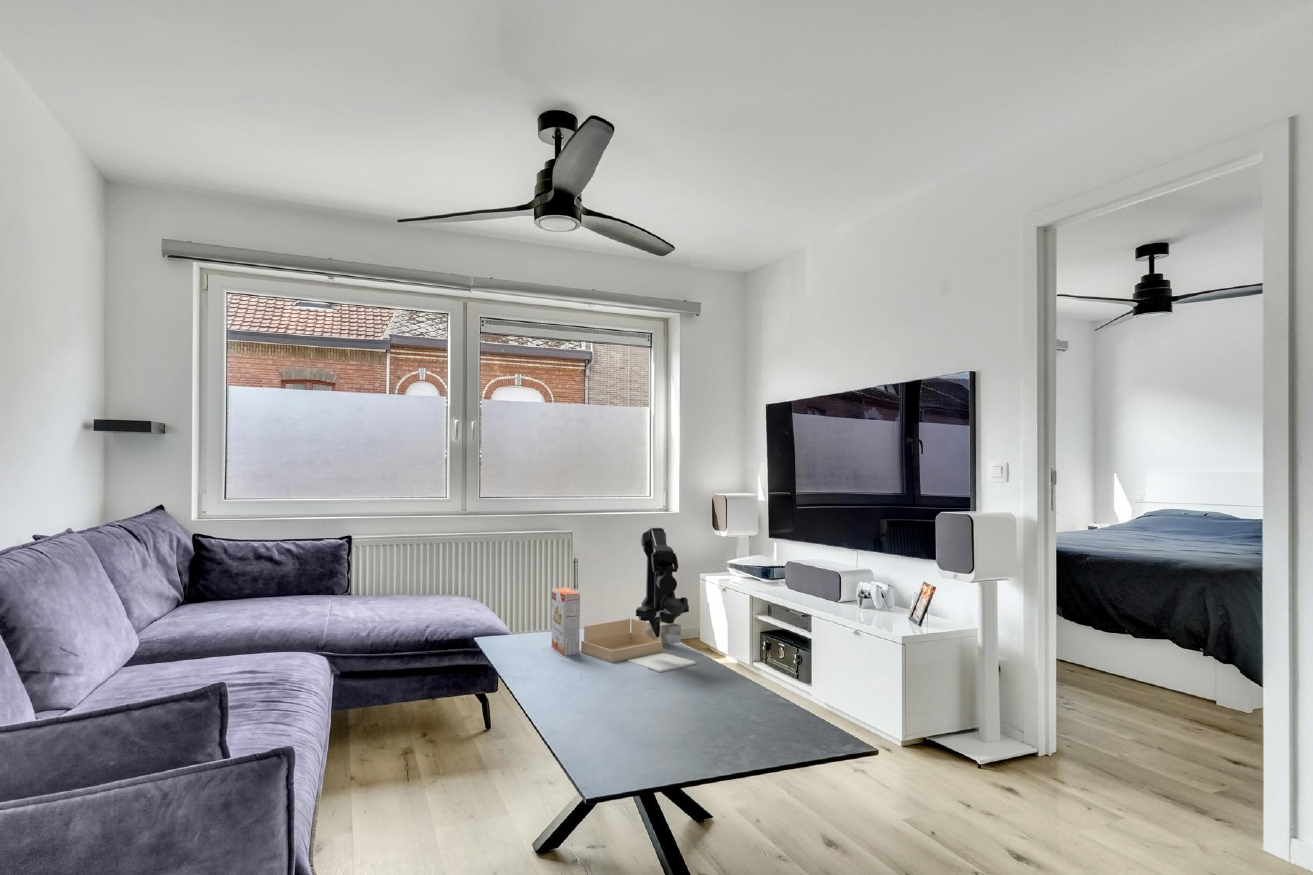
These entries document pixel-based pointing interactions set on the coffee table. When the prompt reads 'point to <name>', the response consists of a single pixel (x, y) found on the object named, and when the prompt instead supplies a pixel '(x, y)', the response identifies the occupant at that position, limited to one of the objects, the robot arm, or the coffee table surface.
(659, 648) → the carton
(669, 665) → the grey mat
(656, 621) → the robot arm
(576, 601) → the cracker box
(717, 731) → the coffee table surface
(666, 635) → the grey and cream hammer
